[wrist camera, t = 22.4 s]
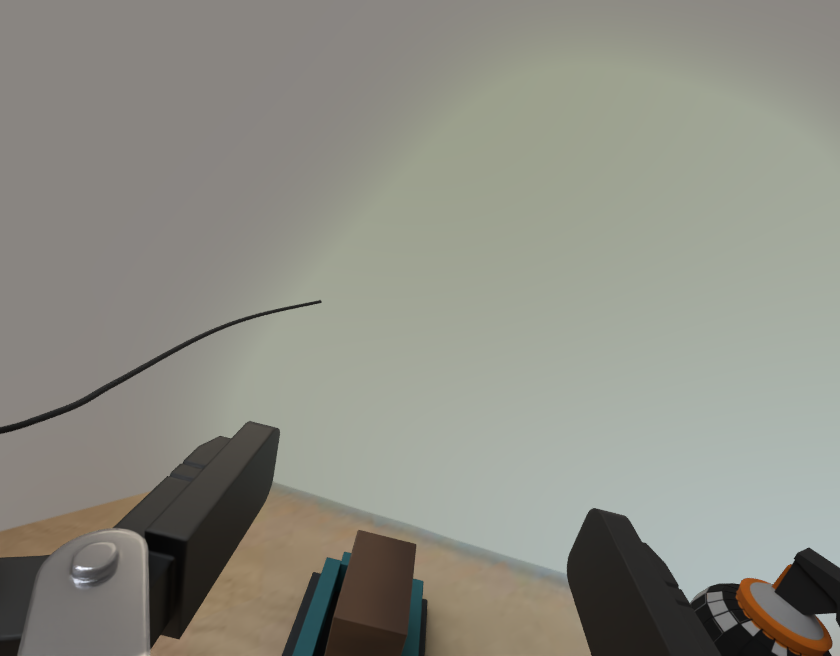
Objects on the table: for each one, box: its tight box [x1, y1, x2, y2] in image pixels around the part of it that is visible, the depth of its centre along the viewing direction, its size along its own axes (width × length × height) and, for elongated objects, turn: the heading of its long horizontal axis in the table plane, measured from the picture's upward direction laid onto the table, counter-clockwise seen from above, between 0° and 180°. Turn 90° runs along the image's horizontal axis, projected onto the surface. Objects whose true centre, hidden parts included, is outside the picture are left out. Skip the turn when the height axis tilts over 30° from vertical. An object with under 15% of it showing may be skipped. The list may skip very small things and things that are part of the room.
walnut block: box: [324, 530, 416, 656], centre depth 25 cm, size 4×6×10 cm, turn 176°
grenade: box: [690, 548, 840, 656], centre depth 30 cm, size 11×10×15 cm
